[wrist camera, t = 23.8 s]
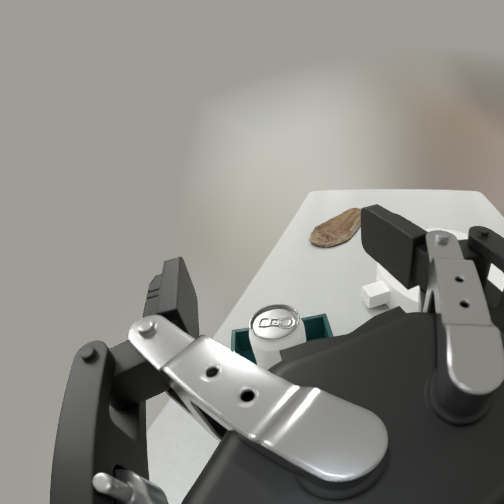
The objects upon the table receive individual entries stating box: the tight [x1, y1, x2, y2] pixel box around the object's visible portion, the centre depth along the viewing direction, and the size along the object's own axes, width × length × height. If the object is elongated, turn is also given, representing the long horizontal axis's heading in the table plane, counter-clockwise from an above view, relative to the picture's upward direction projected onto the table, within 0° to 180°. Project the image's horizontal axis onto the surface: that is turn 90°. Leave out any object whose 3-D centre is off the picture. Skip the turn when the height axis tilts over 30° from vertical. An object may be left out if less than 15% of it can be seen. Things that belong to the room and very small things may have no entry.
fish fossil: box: [309, 208, 361, 248], centre depth 74 cm, size 26×10×1 cm, turn 141°
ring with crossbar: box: [362, 228, 504, 313], centre depth 44 cm, size 28×28×5 cm
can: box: [249, 304, 306, 370], centre depth 33 cm, size 6×6×12 cm
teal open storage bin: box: [231, 314, 333, 365], centre depth 35 cm, size 14×14×5 cm
